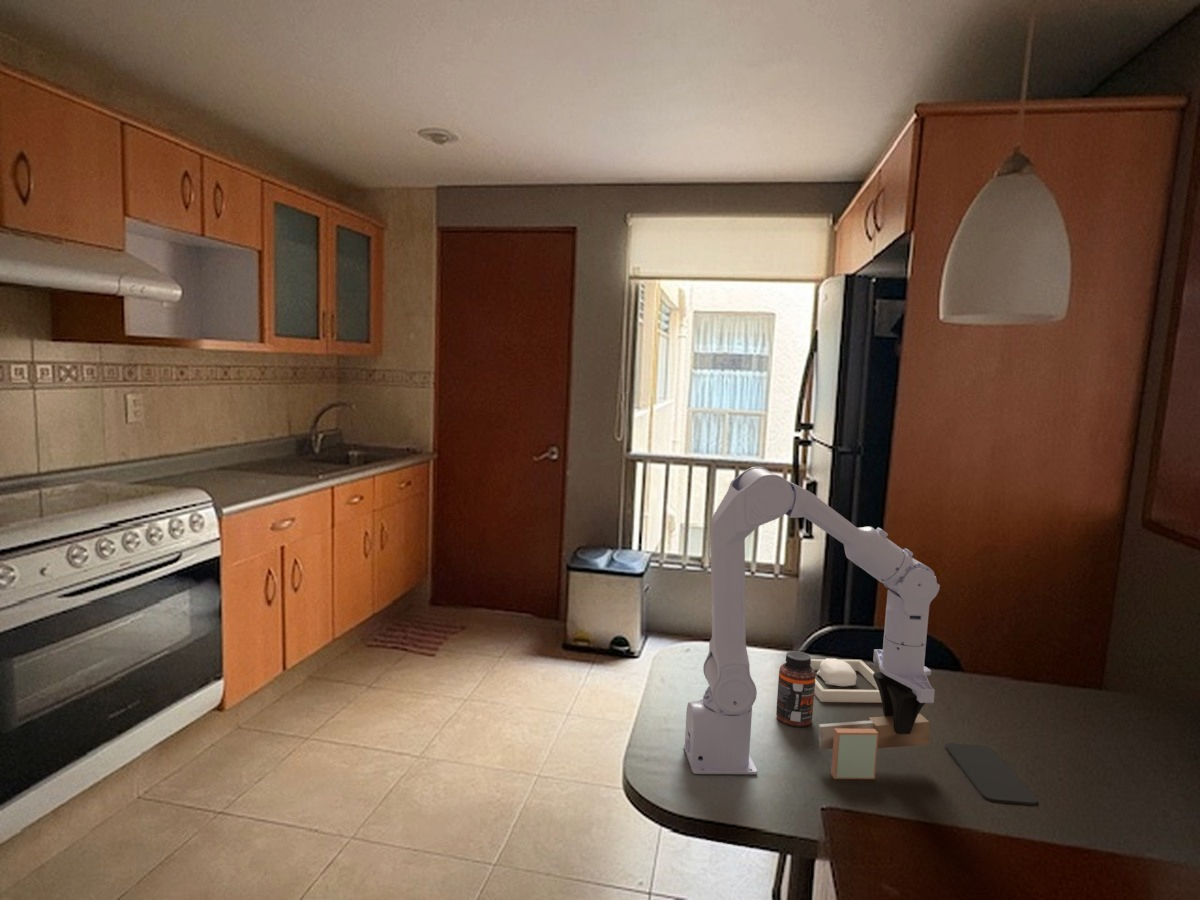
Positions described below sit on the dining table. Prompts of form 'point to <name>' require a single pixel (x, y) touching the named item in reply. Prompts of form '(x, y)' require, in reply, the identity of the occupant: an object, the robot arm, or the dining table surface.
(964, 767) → the phone
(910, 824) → the dining table surface
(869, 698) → the garlic dish rim
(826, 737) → the scraper
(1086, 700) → the dining table surface
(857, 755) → the tile
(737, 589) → the robot arm
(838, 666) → the white rounded lump
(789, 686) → the supplement bottle
